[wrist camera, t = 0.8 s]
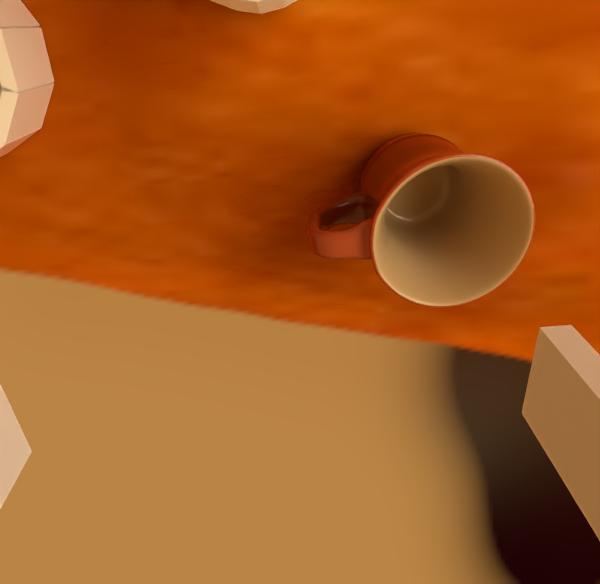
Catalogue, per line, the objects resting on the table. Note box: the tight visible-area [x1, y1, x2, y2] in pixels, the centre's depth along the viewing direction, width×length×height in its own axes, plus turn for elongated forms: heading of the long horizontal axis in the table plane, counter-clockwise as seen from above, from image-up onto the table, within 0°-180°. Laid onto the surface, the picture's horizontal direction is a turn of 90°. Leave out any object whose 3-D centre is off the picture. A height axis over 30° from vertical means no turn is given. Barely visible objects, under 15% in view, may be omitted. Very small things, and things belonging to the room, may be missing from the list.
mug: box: [306, 134, 535, 308], centre depth 31 cm, size 12×9×10 cm
